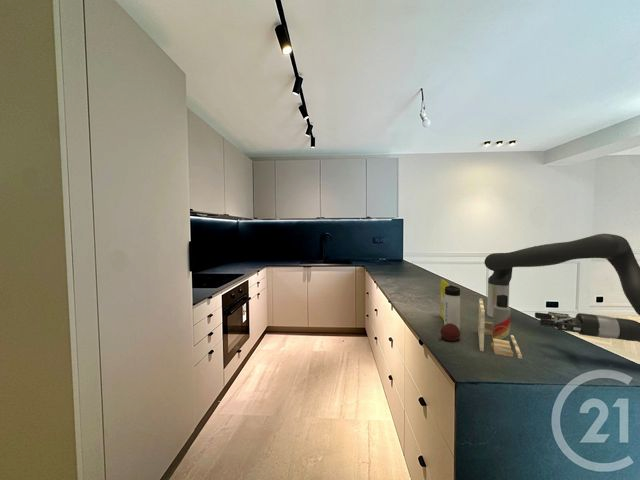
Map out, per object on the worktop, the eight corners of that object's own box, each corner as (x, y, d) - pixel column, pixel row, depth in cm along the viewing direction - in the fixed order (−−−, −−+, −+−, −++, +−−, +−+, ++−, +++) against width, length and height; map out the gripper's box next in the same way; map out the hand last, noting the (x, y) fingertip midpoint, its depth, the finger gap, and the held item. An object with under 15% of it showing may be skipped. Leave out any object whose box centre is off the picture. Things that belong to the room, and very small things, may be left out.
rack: (478, 334, 117) (479, 298, 116) (513, 340, 110) (514, 302, 110) (479, 353, 99) (481, 310, 99) (521, 361, 93) (523, 316, 93)
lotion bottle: (504, 348, 103) (505, 297, 102) (489, 342, 108) (490, 294, 107) (512, 345, 106) (514, 295, 105) (497, 340, 111) (498, 292, 110)
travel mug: (458, 328, 123) (459, 285, 122) (460, 334, 117) (461, 289, 116) (443, 327, 125) (444, 284, 124) (444, 332, 119) (445, 288, 118)
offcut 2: (491, 347, 103) (491, 342, 103) (507, 349, 101) (507, 344, 101) (495, 354, 97) (495, 350, 97) (513, 357, 95) (513, 352, 95)
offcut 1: (492, 342, 103) (493, 338, 102) (508, 345, 100) (508, 341, 100) (494, 349, 97) (494, 344, 97) (510, 352, 95) (510, 347, 95)
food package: (449, 326, 126) (450, 284, 125) (446, 326, 126) (447, 284, 125) (441, 315, 141) (442, 278, 140) (439, 315, 141) (439, 278, 140)
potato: (437, 341, 110) (437, 324, 109) (443, 335, 116) (444, 319, 116) (456, 346, 105) (457, 329, 104) (462, 339, 111) (462, 323, 111)
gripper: (588, 309, 99) (533, 303, 107) (606, 321, 87) (542, 314, 94) (587, 329, 99) (533, 322, 107) (605, 344, 87) (541, 334, 95)
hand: (537, 318), depth 101 cm, fingers open, 8 cm apart
